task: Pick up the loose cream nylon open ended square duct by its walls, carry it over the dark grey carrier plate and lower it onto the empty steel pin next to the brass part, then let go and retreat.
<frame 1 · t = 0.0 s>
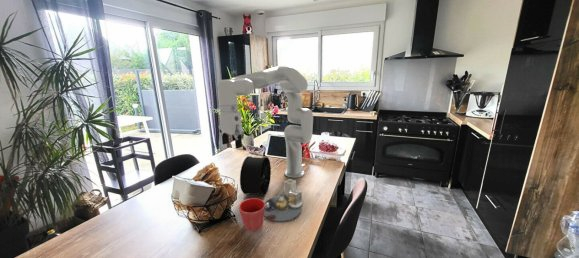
hand: (232, 145, 104), 31 cm above the table, fingers open, 9 cm apart
car wheel rim: (257, 192, 124), on the table
flower pot: (253, 225, 98), on the table
open ended square duct: (290, 193, 122), on the table
carrier: (281, 209, 108), on the table
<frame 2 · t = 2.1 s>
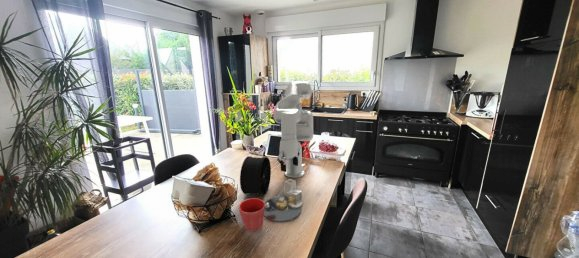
hand: (289, 168, 118), 15 cm above the table, fingers open, 9 cm apart
nothing on the table moved.
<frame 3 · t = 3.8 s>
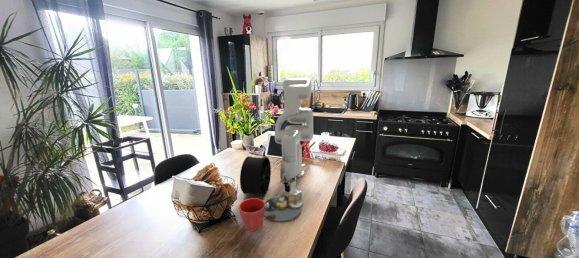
hand: (290, 189, 121), 2 cm above the table, fingers closed on open ended square duct, 4 cm apart
open ended square duct: (290, 193, 122), on the table, touching gripper
everything else where it was.
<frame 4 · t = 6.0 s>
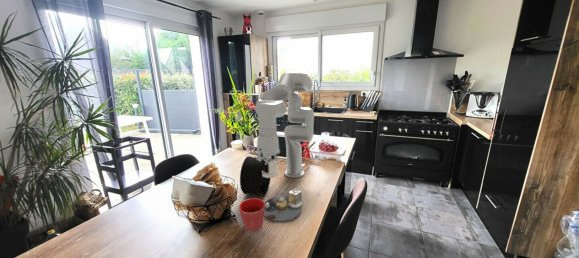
hand: (269, 169, 103), 20 cm above the table, fingers closed on open ended square duct, 4 cm apart
open ended square duct: (269, 174, 104), point 18 cm above the table, touching gripper
everything else where it was.
when the fingers open (5 cm above the table, at t = 8.6 s): open ended square duct drops 1 cm, resting on carrier.
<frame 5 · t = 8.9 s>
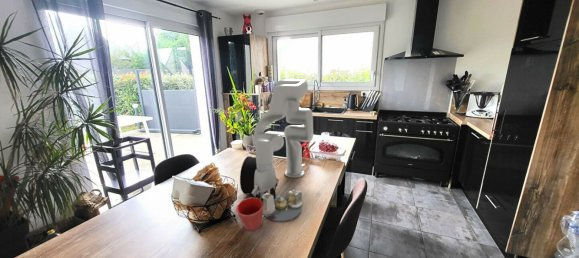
hand: (266, 201, 105), 6 cm above the table, fingers open, 7 cm apart
flower pot: (253, 224, 98), on the table, touching gripper
open ended square duct: (267, 209, 106), point 1 cm above the table, touching carrier
everything else where it was.
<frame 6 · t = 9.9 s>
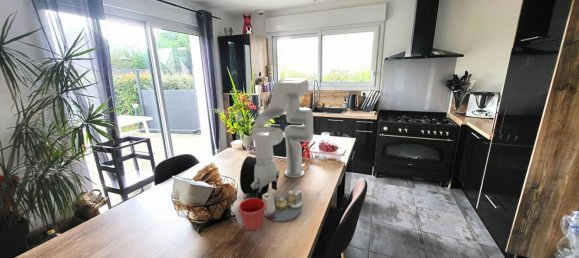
hand: (267, 193, 105), 9 cm above the table, fingers open, 9 cm apart
flower pot: (253, 225, 98), on the table
everything else where it was.
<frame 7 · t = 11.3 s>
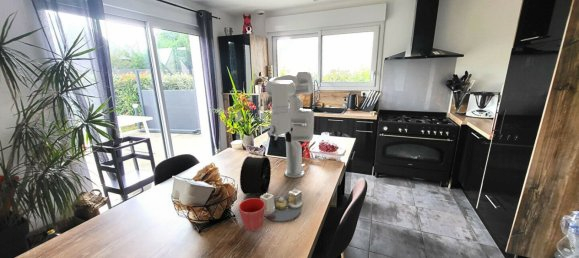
hand: (282, 144, 109), 29 cm above the table, fingers open, 9 cm apart
nothing on the table moved.
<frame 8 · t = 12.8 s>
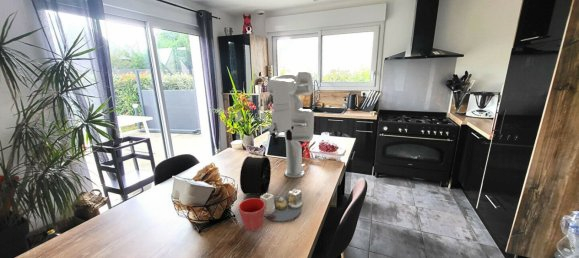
hand: (282, 142, 109), 30 cm above the table, fingers open, 9 cm apart
nothing on the table moved.
at the end: open ended square duct 0.0 cm from the target spot on the carrier, point 1.2 cm above the carrier's base; open ended square duct tilted 0°; the gripper is holding nothing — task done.
